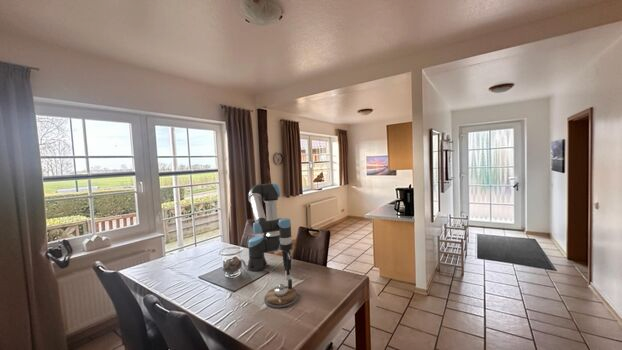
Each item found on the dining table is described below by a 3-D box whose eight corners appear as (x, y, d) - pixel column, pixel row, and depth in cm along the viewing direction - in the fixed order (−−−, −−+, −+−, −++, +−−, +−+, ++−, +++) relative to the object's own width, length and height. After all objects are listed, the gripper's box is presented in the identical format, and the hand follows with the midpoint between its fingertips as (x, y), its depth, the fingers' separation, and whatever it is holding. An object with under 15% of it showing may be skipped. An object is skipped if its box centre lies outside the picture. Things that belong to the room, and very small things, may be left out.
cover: (273, 292, 150) (272, 284, 150) (285, 288, 153) (285, 280, 153) (276, 298, 143) (276, 290, 142) (289, 294, 146) (289, 286, 145)
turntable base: (261, 294, 153) (261, 292, 153) (292, 286, 161) (291, 285, 161) (268, 312, 135) (268, 309, 134) (303, 302, 142) (303, 300, 142)
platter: (263, 292, 152) (262, 282, 152) (291, 285, 159) (290, 276, 159) (270, 308, 136) (269, 296, 135) (300, 299, 143) (300, 288, 142)
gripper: (277, 241, 163) (279, 276, 164) (283, 247, 151) (285, 285, 152) (288, 239, 166) (290, 274, 167) (294, 244, 154) (296, 282, 155)
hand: (288, 279), depth 159 cm, fingers closed
